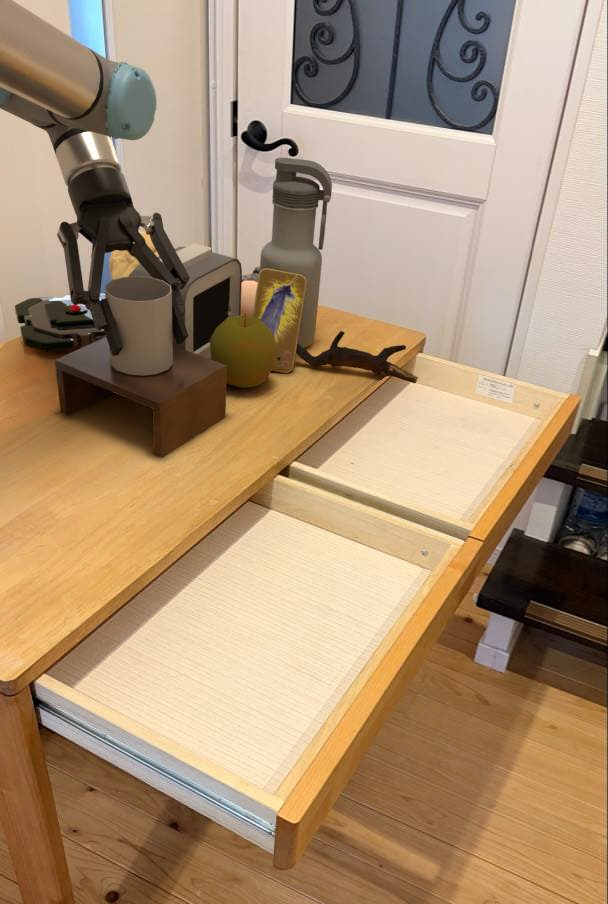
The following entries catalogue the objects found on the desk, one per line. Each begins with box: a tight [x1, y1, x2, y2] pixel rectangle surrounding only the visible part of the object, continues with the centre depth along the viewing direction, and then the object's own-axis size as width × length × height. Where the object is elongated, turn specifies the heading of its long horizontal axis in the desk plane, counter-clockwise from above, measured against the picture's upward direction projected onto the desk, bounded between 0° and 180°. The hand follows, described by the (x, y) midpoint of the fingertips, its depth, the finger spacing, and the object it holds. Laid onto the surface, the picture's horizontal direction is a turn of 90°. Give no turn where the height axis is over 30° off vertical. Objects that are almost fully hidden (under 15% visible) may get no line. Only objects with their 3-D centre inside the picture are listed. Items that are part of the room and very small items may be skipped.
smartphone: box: [253, 268, 306, 374], centre depth 127 cm, size 8×15×1 cm
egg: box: [240, 281, 258, 317], centre depth 141 cm, size 7×7×8 cm
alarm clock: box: [129, 242, 243, 359], centre depth 127 cm, size 16×11×16 cm
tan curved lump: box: [108, 230, 159, 281], centre depth 143 cm, size 11×12×11 cm
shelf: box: [54, 337, 227, 458], centre depth 112 cm, size 14×18×8 cm
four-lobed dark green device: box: [14, 293, 106, 352], centre depth 133 cm, size 18×18×5 cm
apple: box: [210, 314, 278, 389], centre depth 121 cm, size 10×10×11 cm
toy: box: [295, 330, 419, 384], centre depth 129 cm, size 23×7×5 cm
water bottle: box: [259, 157, 333, 349], centre depth 129 cm, size 10×10×28 cm
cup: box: [104, 276, 173, 376], centre depth 107 cm, size 8×8×10 cm
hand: (151, 345), depth 106 cm, fingers closed on cup, 8 cm apart
